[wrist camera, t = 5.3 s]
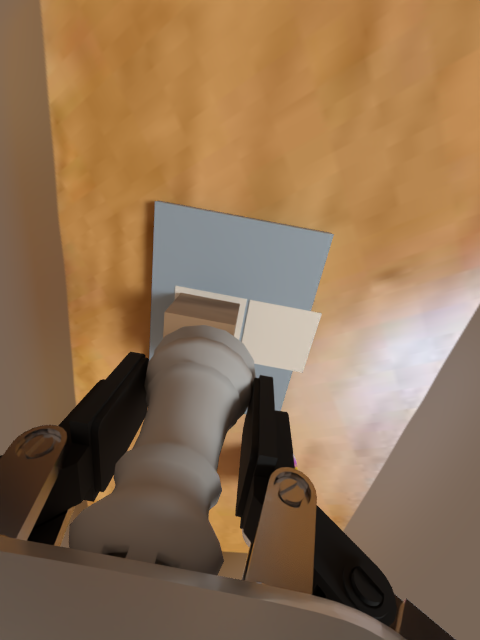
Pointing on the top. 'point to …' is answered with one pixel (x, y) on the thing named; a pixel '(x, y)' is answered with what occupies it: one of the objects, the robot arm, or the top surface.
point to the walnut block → (200, 313)
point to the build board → (243, 281)
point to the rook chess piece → (174, 456)
